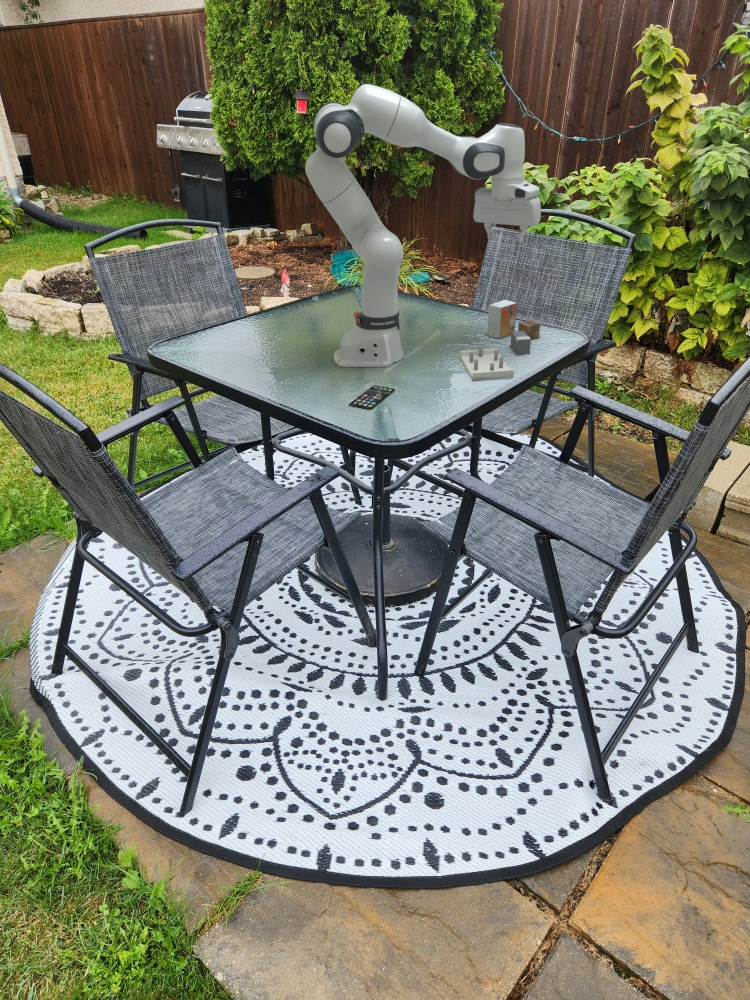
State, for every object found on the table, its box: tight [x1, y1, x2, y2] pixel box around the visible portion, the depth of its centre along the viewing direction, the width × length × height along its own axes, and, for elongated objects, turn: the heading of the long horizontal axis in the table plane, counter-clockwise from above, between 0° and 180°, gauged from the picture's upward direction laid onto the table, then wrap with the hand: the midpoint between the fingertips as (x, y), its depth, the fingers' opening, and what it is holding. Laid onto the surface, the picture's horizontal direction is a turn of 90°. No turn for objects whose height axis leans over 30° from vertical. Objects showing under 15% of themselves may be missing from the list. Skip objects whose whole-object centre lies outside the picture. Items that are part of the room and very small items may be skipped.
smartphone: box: [348, 385, 396, 411], centre depth 187 cm, size 7×1×15 cm
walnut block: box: [517, 319, 541, 341], centre depth 221 cm, size 5×5×5 cm
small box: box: [486, 299, 518, 340], centre depth 223 cm, size 8×6×10 cm
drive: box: [510, 330, 532, 356], centre depth 212 cm, size 4×8×5 cm, turn 6°
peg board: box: [459, 345, 515, 382], centre depth 201 cm, size 12×18×4 cm, turn 6°
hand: (505, 240), depth 195 cm, fingers open, 8 cm apart
